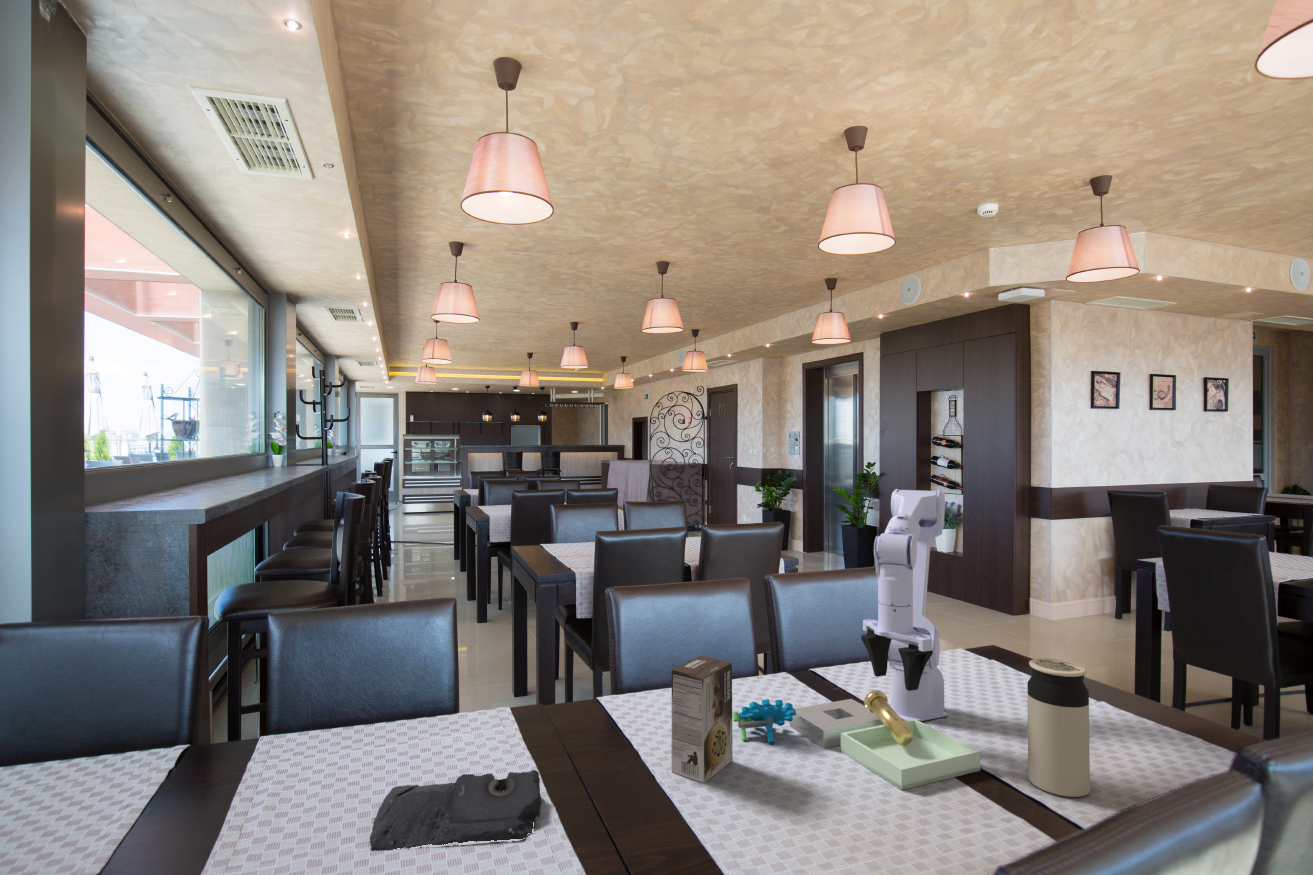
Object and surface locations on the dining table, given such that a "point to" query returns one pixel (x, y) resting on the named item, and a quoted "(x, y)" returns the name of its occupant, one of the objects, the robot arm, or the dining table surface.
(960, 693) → the dining table surface
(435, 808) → the dark slate chunk
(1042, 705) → the travel mug
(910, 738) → the pin
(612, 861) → the dining table surface
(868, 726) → the pin bracket
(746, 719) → the gear
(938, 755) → the parts tray
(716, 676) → the coffee box
